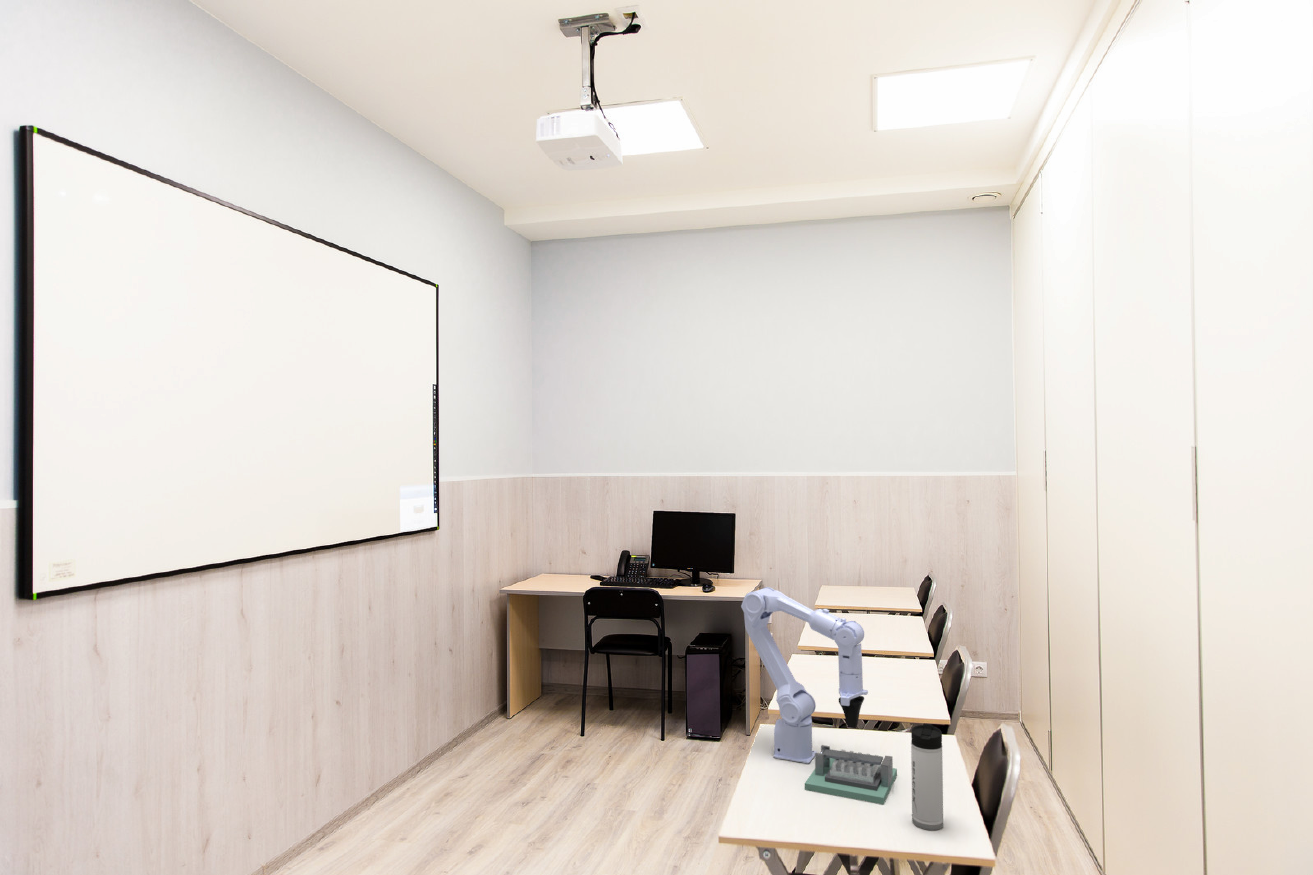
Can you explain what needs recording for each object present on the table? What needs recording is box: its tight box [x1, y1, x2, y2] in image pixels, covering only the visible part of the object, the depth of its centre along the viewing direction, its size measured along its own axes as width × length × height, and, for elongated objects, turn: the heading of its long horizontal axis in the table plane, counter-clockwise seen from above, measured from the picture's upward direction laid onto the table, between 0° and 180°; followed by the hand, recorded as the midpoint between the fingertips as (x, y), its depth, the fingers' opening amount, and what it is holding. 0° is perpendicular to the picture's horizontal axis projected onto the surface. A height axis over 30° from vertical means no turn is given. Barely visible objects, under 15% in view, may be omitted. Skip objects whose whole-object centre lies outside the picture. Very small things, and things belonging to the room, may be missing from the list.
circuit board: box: [804, 758, 898, 805], centre depth 186 cm, size 18×18×2 cm
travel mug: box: [910, 722, 944, 831], centre depth 165 cm, size 6×7×20 cm
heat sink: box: [814, 744, 894, 787], centre depth 186 cm, size 17×10×5 cm, turn 64°
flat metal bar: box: [819, 748, 884, 765], centre depth 186 cm, size 14×4×1 cm, turn 64°
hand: (852, 726), depth 194 cm, fingers closed
